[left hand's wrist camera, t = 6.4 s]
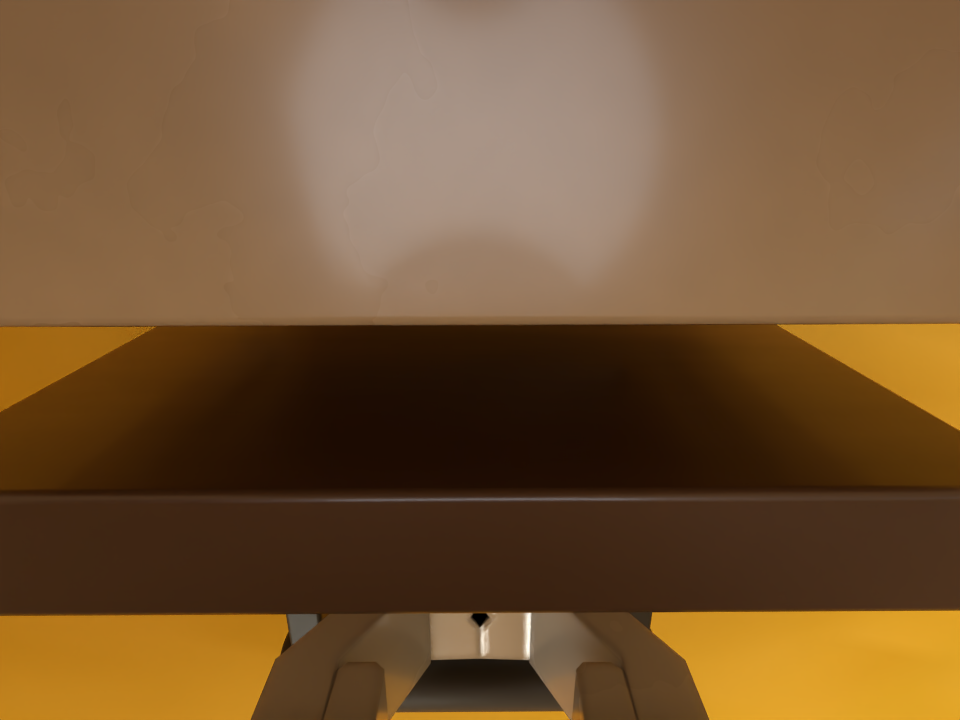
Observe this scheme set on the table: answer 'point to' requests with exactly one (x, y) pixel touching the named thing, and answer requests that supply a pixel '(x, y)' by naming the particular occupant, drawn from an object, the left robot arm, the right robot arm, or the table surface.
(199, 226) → the cabinet
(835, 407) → the drawer
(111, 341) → the table surface
